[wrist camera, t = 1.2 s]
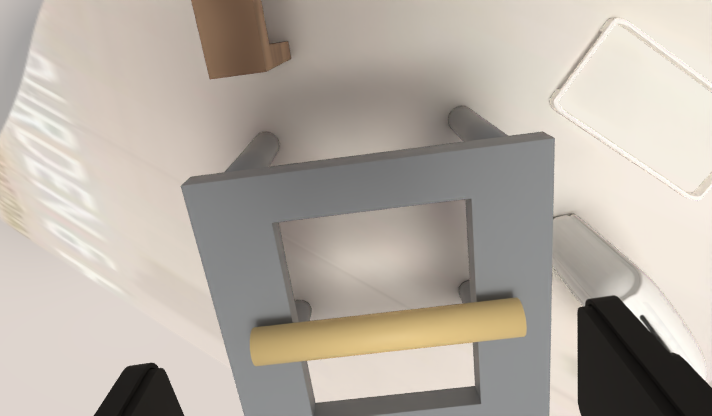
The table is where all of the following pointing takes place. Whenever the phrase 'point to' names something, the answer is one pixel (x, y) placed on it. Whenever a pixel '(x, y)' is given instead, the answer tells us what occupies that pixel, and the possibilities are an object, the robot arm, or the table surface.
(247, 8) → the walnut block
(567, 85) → the phone case
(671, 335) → the photo printer
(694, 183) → the table surface
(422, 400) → the grey open-frame table
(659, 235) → the table surface
